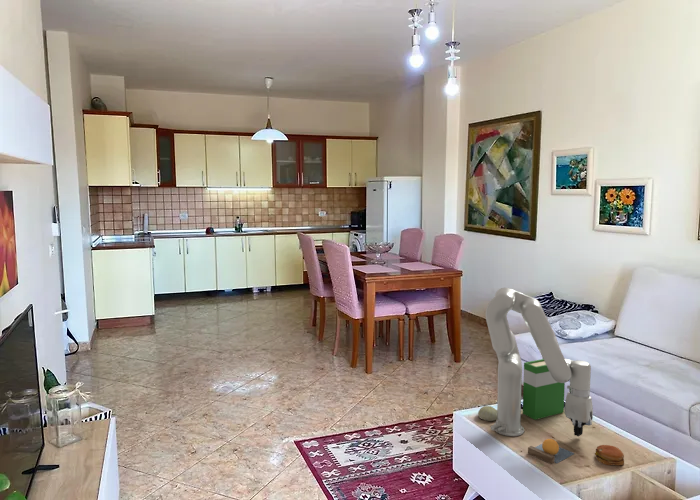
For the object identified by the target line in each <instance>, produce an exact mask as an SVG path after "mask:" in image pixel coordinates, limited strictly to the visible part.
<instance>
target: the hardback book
mask: <svg viewBox="0 0 700 500" xmlns="http://www.w3.org/2000/svg"><path fill="white" fill-rule="evenodd" d="M565 384H566V383H559V382H557V381H555V380H554V379H553V377H552V375H551V373H550V371H549V369H548V367H547V365H546V363H545V361H544V359H543V358H542V359H536V360H532V361H527V362H526V361H525V362H524V363H523V386H522V387H523V389H522V390H523V391H522V392H523V393H522V414H523V415H525V416H527V417H528V418H531V419H533V420H534V421H535V420H540V419H543V418H547V417H550V416H551V417H552V416H555V415H560V414H564V409H565V389H566V388H565V386H566V385H565Z"/></svg>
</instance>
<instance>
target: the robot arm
mask: <svg viewBox="0 0 700 500" xmlns="http://www.w3.org/2000/svg"><path fill="white" fill-rule="evenodd" d="M510 311H513V312H516V313H519V314H521V316H522V319H523V321H524V322H525V325H526V327H527V328H528V330H529V333H530V335H531V337H532V340H533V342H535V345H536V348H537V350H539V351H538V352H539V353H540V355H541V357H542V359H544V361H545V363H546V365H547V367H548V369H549V371H550V373H551V375H552V377H553V379H554V380H555V381H557V382H559V383H565V384H566V383H567V382H569V384H567V386H566V388H567V389H568V392H567V393H566V396H565V397H566V398H565V400H564V412H563V414H564V415H565V417H566V418H567V419H568V420H570V421H571V423H572V425H573V435H574V436H576V437H581V436H582V435H583V434H584V433H583V431H584V426H591V425H593V421H592V420H593V417H594V410H593V409H594V407H593V406H594V405H593V400H592V399H593V398H592V396H590V395H591V375H592V374H591V373H592V372H591V371H592V366H591V364H590V363H589V362H588V361H585V360H573V359H568V358H565V357H564V354H563V352H562V351H561V348H560V345H559V342H558V338H557V336H556V333H555V332H554V329H553V328H552V325H551V322H550V321H549V320H548V318H547V315H546V313H545V312H544V309H543V307H542V304H541V302H540V300H538V299H537V298H535V297H532V296H529V295H526V294H524V293H522V292H521V291H517V290H515V289H512V288H509V287H501V288H498V289H497V291H496V292H495V294H494V297H493V298H492V299H491V300H490V301H489V303H488V304H487V306H486V308H485V321H486V324H487V328H488V333H489V337H490V341H491V345H492V349H493V351H494V352H495V353H496V357H497V361H498V365H497V404H496V405H497V407H496V408H497V409H496V410H497V420H495V422H494V423H493V424H492V425H491V426H490V430H491V431H495V432H496V433H497V434H500V435H503V436H507V437H517V436H518V437H519V436H521V435H523V434H524V433H525V428H524V426H523V425H521V418H522V417H521V416H522V414H521V413H522V411H521V410H522V381H523V365H522V358H521V355H520V352H519V347H518V343H517V340H516V337H515V334H514V333H513V331H512V330H511V329H510V325H509V324H510V323H509V321H508V317H507V315H508V313H509V312H510Z"/></svg>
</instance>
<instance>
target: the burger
mask: <svg viewBox="0 0 700 500" xmlns="http://www.w3.org/2000/svg"><path fill="white" fill-rule="evenodd" d="M594 456H595V457H596V461H598V462H599V463H601V464H603V465H605V466H617V467H618V466H623V465H624V464H625V454H624V453H623V450H621V449H619V448H618V447H617V446H615V445H610V444H600V445H598V446H597V447H596V448H595V452H594Z"/></svg>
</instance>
